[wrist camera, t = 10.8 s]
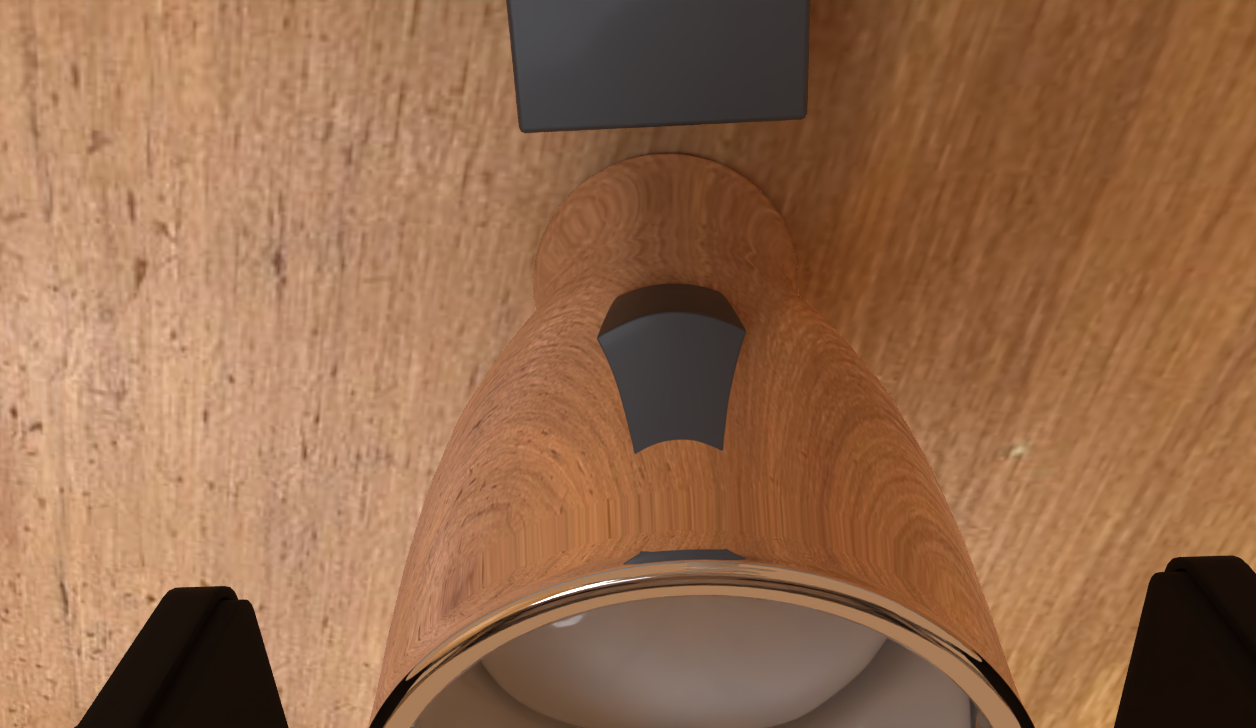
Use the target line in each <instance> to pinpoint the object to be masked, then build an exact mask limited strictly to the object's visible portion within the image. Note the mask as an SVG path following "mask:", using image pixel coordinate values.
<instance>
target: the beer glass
mask: <svg viewBox="0 0 1256 728" xmlns="http://www.w3.org/2000/svg"><path fill="white" fill-rule="evenodd" d="M798 288H799V274H798V263H797V257H796V253H795V249H794V245H793V242H792V239H791V236H790V233H789V231H788V229H787V226H786V224H785V222H784V221H783V219H782V217H781V215H780V214H779V212H778V211H777V209H776V208H775V206H774V205H773V204H772V202H771V201H770V200H769V199H768V198H767V197H766V196H765V195H764V193H763V192H762V191H760V190H759V189H758V188H757V187H756V186H755V185H754V184H753V183H751V182H750V181H749V180H747V179H746V178H745V177H743V176H742V175H740V174H738V173H737V172H735V171H733V170H731V169H729V168H727V167H725V166H723V165H721V164H718V163H716V162H713V161H710V160H707V159H703V158H699V157H695V156H689V155H682V154H652V155H645V156H640V157H635V158H631V159H628V160H625V161H622V162H619V163H616V164H614V165H612V166H609V167H607V168H605V169H603V170H601V171H600V172H598V173H596V174H595V175H593V176H592V177H590V178H589V179H587V180H586V181H584V182H583V183H582V184H581V185H579V186H578V187H577V188H576V189H575V190H574V191H573V192H572V193H571V194H570V195H569V196H568V197H567V198H566V199H565V200H564V201H563V202H562V203H561V204H560V206H559V207H558V208H557V210H556V211H555V213H554V214H553V216H552V217H551V219H550V220H549V222H548V224H547V226H546V228H545V230H544V233H543V235H542V237H541V240H540V243H539V247H538V250H537V254H536V260H535V266H534V276H533V289H534V300H535V307H536V311H535V312H534V313H533V314H532V315H531V317H530V318H529V319H528V320H527V321H526V322H525V324H524V325H523V326H522V327H521V329H520V330H519V331H518V332H517V334H516V335H515V336H514V337H513V338H512V340H511V341H510V342H509V343H508V345H507V346H506V347H505V348H504V350H503V351H502V352H501V353H500V355H499V356H498V358H497V359H496V360H495V362H494V363H493V365H492V366H491V368H490V369H489V371H488V373H487V374H486V376H485V377H484V379H483V380H482V382H481V383H480V385H479V386H478V388H477V390H476V391H475V393H474V394H473V396H472V397H471V399H470V400H469V402H468V404H467V405H466V407H465V409H464V410H463V412H462V414H461V416H460V418H459V420H458V422H457V424H456V426H455V428H454V430H453V433H452V435H451V437H450V440H449V442H448V444H447V447H446V449H445V451H444V454H443V456H442V458H441V461H440V463H439V465H438V468H437V470H436V472H435V475H434V477H433V479H432V482H431V484H430V487H429V489H428V492H427V495H426V498H425V501H424V505H423V508H422V511H421V514H420V518H419V521H418V524H417V527H416V530H415V534H414V537H413V540H412V543H411V547H410V550H409V553H408V556H407V560H406V563H405V567H404V571H403V575H402V580H401V584H400V588H399V592H398V596H397V600H396V605H395V609H394V613H393V617H392V621H391V626H390V630H389V634H388V639H387V644H386V648H385V653H384V658H383V663H382V668H381V673H380V677H379V682H378V687H377V692H376V696H375V700H374V705H373V709H372V713H371V717H370V722H369V726H368V728H1035V726H1034V724H1033V722H1032V720H1031V718H1030V716H1029V714H1028V712H1027V711H1026V709H1025V707H1024V706H1023V704H1022V702H1021V700H1020V697H1019V694H1018V691H1017V689H1016V686H1015V683H1014V681H1013V678H1012V675H1011V672H1010V670H1009V667H1008V664H1007V661H1006V658H1005V655H1004V652H1003V649H1002V646H1001V643H1000V640H999V637H998V634H997V631H996V628H995V625H994V622H993V619H992V616H991V613H990V610H989V607H988V604H987V602H986V599H985V596H984V594H983V591H982V588H981V585H980V583H979V580H978V577H977V575H976V572H975V569H974V566H973V564H972V561H971V558H970V555H969V553H968V550H967V547H966V545H965V542H964V539H963V537H962V534H961V532H960V530H959V528H958V525H957V523H956V521H955V519H954V516H953V514H952V512H951V510H950V507H949V505H948V503H947V501H946V498H945V496H944V494H943V492H942V489H941V487H940V485H939V483H938V480H937V478H936V476H935V474H934V471H933V469H932V467H931V465H930V463H929V461H928V459H927V458H926V456H925V454H924V452H923V451H922V449H921V447H920V445H919V444H918V442H917V440H916V438H915V437H914V435H913V433H912V432H911V430H910V428H909V426H908V425H907V423H906V421H905V420H904V418H903V416H902V414H901V413H900V411H899V409H898V407H897V406H896V404H895V402H894V401H893V399H892V397H891V396H890V395H889V393H888V392H887V390H886V389H885V387H884V386H883V385H882V383H881V382H880V381H879V380H878V378H877V377H876V376H875V375H874V374H873V372H872V371H871V370H870V369H869V368H868V366H867V365H866V364H865V363H864V362H863V360H862V359H861V358H860V357H859V356H858V355H857V353H856V352H855V351H854V350H853V349H852V347H851V346H850V345H849V344H848V343H847V342H846V340H845V339H844V338H843V337H842V336H841V335H840V334H839V333H838V332H837V331H836V330H835V329H834V328H833V327H832V326H831V325H830V324H829V323H828V322H827V321H826V320H825V319H824V318H823V317H822V316H821V315H820V314H819V313H818V312H817V311H815V310H814V309H813V308H812V307H811V306H810V305H809V304H808V303H807V302H806V301H805V300H804V299H803V298H802V297H800V296H799V295H798Z"/></svg>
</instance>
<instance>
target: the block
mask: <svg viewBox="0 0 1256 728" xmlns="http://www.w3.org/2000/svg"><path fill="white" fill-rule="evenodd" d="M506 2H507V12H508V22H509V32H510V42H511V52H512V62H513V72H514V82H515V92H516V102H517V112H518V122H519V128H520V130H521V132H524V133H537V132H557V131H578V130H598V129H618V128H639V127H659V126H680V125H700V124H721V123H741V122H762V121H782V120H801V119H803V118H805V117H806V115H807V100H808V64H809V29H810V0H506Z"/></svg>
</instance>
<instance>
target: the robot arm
mask: <svg viewBox="0 0 1256 728" xmlns="http://www.w3.org/2000/svg"><path fill="white" fill-rule="evenodd" d="M74 728H288V725H287V721H286V718H285V714H284V711H283V708H282V704H281V701H280V697H279V694H278V690H277V687H276V684H275V680H274V677H273V673H272V670H271V666H270V663H269V660H268V656H267V653H266V649H265V646H264V643H263V639H262V636H261V632H260V629H259V625H258V622H257V619H256V615H255V612H254V609H253V606H252V604H251V603H250V602H249V601H248V600H238V598H237V595H236V593H235V592H234V591H233V590H232V589H231V587H226V586H215V587H182V588H174V589H172V590H169V591H168V592H167V593H166V595H165V596H164V597H163V598H162V600H161V601H160V603H159V604H158V606H157V607H156V609H155V610H154V612H153V613H152V615H151V616H150V618H149V619H148V621H147V622H146V624H145V625H144V627H143V628H142V630H141V631H140V633H139V634H138V636H137V637H136V639H135V640H134V642H133V643H132V645H131V646H130V648H129V649H128V651H127V652H126V654H125V655H124V657H123V658H122V660H121V661H120V663H119V664H118V666H117V667H116V669H115V670H114V672H113V673H112V675H111V676H110V678H109V679H108V681H107V682H106V684H105V685H104V687H103V688H102V690H101V691H100V693H99V694H98V696H97V697H96V699H95V700H94V702H93V703H92V705H91V706H90V708H89V709H88V711H87V712H86V714H85V715H84V717H83V718H82V720H81V721H80V723H79V724H78V725H77V726H76V727H74ZM1114 728H1256V573H1255V572H1254V571H1253V570H1252V569H1251V568H1250V567H1249V565H1248V564H1246V563H1245V562H1244V561H1243V560H1242V559H1241V558H1238V557H1235V556H1200V557H1178V558H1173V559H1172V560H1171V561H1170V562H1169V563H1168V564H1167V567H1166V569H1165V572H1158V573H1155V574H1154V575H1153V576H1152V577H1151V580H1150V582H1149V585H1148V589H1147V593H1146V598H1145V602H1144V606H1143V610H1142V614H1141V618H1140V622H1139V626H1138V631H1137V635H1136V639H1135V643H1134V647H1133V651H1132V655H1131V659H1130V664H1129V668H1128V672H1127V676H1126V680H1125V684H1124V688H1123V692H1122V697H1121V701H1120V705H1119V709H1118V713H1117V717H1116V721H1115V726H1114Z"/></svg>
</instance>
